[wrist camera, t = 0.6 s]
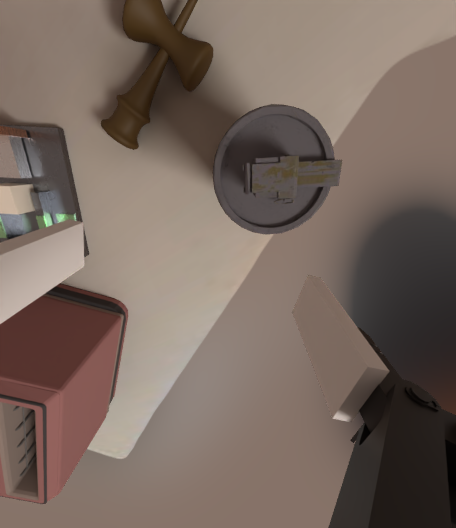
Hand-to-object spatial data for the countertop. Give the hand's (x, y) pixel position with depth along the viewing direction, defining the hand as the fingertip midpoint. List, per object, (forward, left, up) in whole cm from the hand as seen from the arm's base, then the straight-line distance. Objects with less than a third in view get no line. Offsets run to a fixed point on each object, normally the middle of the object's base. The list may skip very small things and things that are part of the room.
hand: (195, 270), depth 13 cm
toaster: (+35, -31, -27) cm, 54 cm away
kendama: (-16, -9, -27) cm, 33 cm away
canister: (-5, +5, -27) cm, 28 cm away
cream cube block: (+1, -32, -25) cm, 41 cm away
